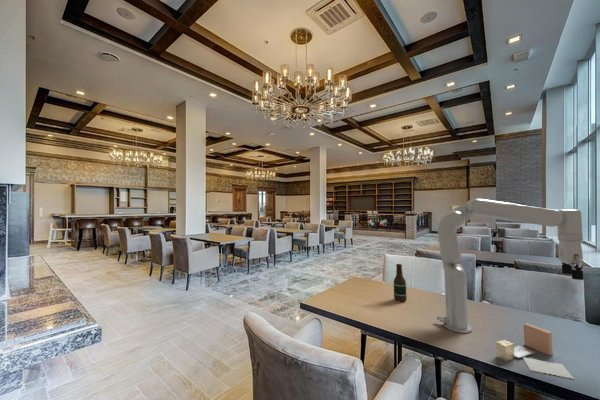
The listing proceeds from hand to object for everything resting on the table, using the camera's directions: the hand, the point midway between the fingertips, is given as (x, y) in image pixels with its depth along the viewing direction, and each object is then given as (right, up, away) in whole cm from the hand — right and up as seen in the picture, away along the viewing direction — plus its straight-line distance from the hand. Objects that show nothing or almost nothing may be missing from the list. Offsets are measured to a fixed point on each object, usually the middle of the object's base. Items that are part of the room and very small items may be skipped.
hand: (572, 276), depth 111 cm
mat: (-25, -31, -14) cm, 42 cm away
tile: (-16, -31, -1) cm, 35 cm away
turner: (-30, -31, -5) cm, 43 cm away
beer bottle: (-52, -34, +58) cm, 85 cm away
